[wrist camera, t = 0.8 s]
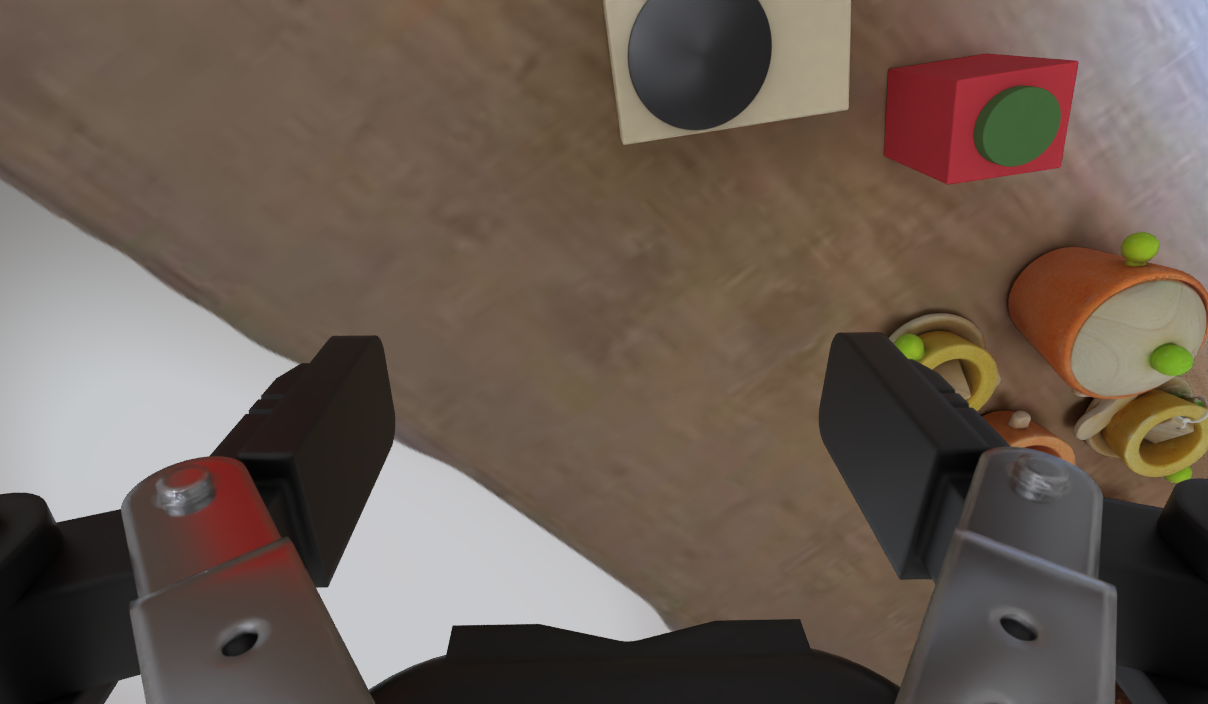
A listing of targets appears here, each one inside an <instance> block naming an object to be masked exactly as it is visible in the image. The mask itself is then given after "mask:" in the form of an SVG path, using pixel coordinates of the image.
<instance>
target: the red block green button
mask: <svg viewBox="0 0 1208 704" xmlns="http://www.w3.org/2000/svg"><path fill="white" fill-rule="evenodd" d="M1077 69H1078V61H1073V60H1060V59H1047V58H1035V57H1022V56H1009V55H996V54H981V55H975V56H968V57H962V58H956V59H949V60H943V61H937V62H931V63H924V64H918V65H912V66H906V67H899V68H893V69H889V70H888V87H887V107H886V128H885V149H884V156H885V157H888V158H890V159H892V160H894V161H897V162H899V163H901V164H903V165H906V166H908V167H910V168H912V169H914V170H917V171H919V172H921V173H923V174H926V175H928V176H930V177H932V178H934V179H937V180H939V181H941V182H943V183H946V184H955V183H962V182H968V181H975V180H981V179H988V178H995V177H1001V176H1008V175H1015V174H1021V173H1028V172H1034V171H1041V170H1048V169H1054V168H1059V167H1061V162H1062V157H1063V151H1064V145H1065V139H1066V133H1067V127H1068V121H1069V116H1070V110H1071V104H1072V98H1073V92H1074V86H1075V80H1076V75H1077Z"/></svg>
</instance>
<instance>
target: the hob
mask: <svg viewBox="0 0 1208 704" xmlns="http://www.w3.org/2000/svg"><path fill="white" fill-rule="evenodd" d="M646 1H647V0H603V8H604V16H605V23H606V31H607V38H608V46H609V54H610V61H611V69H612V77H613V84H614V92H615V100H616V107H617V115H618V122H619V130H620V136H621V139H622V143H623V145H628V144H634V143H641V142H647V141H653V140H660V139H666V138H672V137H679V136H685V135H691V134H698V133H704V132H711V131H717V130H723V129H730V128H736V127H742V126H749V125H755V124H761V123H768V122H774V121H781V120H787V119H793V118H800V117H806V116H812V115H819V114H825V113H831V112H838V111H844V110H848V108H849V70H850V27H851V0H759V2H760V3H761V5H762V7H763V9H764V11H765V13H766V16H767V18H768V21H769V25H770V30H771V37H772V55H771V62H770V66H769V70H768V74H767V76H766V79H765V81H764V84H763V85H762V87H761V89H760V91H759V93H758V94H757V96H756V97H755V98H754V100H753V101H752V102H751V103H750V105H749V106H748V107H747V108H746V109H745V110H744V111H743V112H741V113H740V114H739V115H738V116H736V117H735V118H733V119H732V120H730V121H728V122H726V123H725V124H722V125H720V126H717V127H714V128H710V129H706V130H685V129H680V128H676V127H673V126H671V125H668V124H666V123H664V122H663V121H661V120H660V119H658V118H657V117H655V116H654V115H653V114H652V113H651V112H650V111H649V110H648V109H647V108H646V107H645V106H644V104H643V103H642V102H641V100H640V99H639V97H638V95H637V94H636V91H635V89H634V87H633V85H632V81H631V78H630V74H629V69H628V58H627V54H628V43H629V37H630V33H631V30H632V27H633V24H634V22H635V19H636V17H637V15H638V13H639V12H640V10H641V8H642V6H643V5H644V4H645V3H646Z"/></svg>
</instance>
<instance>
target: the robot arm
mask: <svg viewBox="0 0 1208 704" xmlns="http://www.w3.org/2000/svg"><path fill="white" fill-rule="evenodd" d="M819 428H820V434H821V437H822V440H823V443H824V445H825V446H826V448H827V450H828V452H829V454H830V455H831V457H832V459H833V461H834V462H835V464H836V466H837V468H838V470H839V471H840V473H841V475H842V477H843V479H844V480H845V482H846V484H847V486H848V488H849V489H850V491H851V493H852V495H853V496H854V498H855V500H856V502H857V504H858V505H859V507H860V509H861V511H862V513H863V514H864V516H865V518H866V520H867V522H868V523H869V525H870V527H871V529H872V530H873V532H874V534H875V536H876V538H877V539H878V541H879V543H880V545H881V547H882V548H883V550H884V552H885V554H886V556H887V557H888V559H889V561H890V563H891V564H892V566H893V568H894V570H895V572H896V573H897V575H898V577H899V579H900V580H904V579H933V581H934V582H935V584H936V585H935V588H934V591H933V594H932V597H931V600H930V602H929V605H928V608H927V611H926V614H925V617H924V620H923V623H922V626H921V629H920V632H919V634H918V637H917V640H916V643H915V646H914V649H913V652H912V655H911V658H910V661H909V664H908V667H907V669H906V672H905V675H904V678H903V681H902V684H901V687H899V686H897V685H896V684H894V683H893V682H891V681H889V680H888V679H886V678H885V677H883V676H881V675H879V674H877V673H875V672H874V671H872V670H870V669H868V668H866V667H864V666H862V665H860V664H857V663H855V662H852V661H850V660H848V659H845V658H843V657H840V656H837V655H833V654H830V653H827V652H824V651H820V650H816V649H811V648H810V646H809V643H808V640H807V638H806V635H805V632H804V629H803V626H802V624H801V621H800V619H786V620H732V621H713V622H709V623H705V624H701V625H697V626H693V627H689V628H685V629H681V630H677V631H673V632H669V633H665V634H661V635H657V636H653V637H650V638H646V639H642V640H637V641H630V642H624V641H618V640H613V639H608V638H604V637H598V636H594V635H589V634H584V633H579V632H574V631H570V630H565V629H560V628H555V627H551V626H545V625H541V624H518V625H517V624H516V625H466V626H465V625H462V626H453V627H452V631H451V636H450V640H449V645H448V650H447V654H446V655H444V656H440V657H436V658H433V659H430V660H428V661H425V662H422V663H419V664H417V665H414V666H412V667H409V668H407V669H405V670H403V671H401V672H399V673H397V674H395V675H392V676H391V677H389V678H387V679H386V680H384V681H382V682H381V683H379V684H377V685H376V686H374V687H372V688H371V689H369V690H368V688H367V686H366V684H365V682H364V680H363V679H362V676H361V675H360V673H359V671H358V669H357V667H356V665H355V663H354V661H353V659H352V657H351V655H350V653H349V651H348V649H347V647H346V646H345V643H344V641H343V640H342V638H341V636H340V634H339V632H338V630H337V628H336V626H335V624H334V622H333V620H332V618H331V616H330V614H329V613H328V611H327V609H326V607H325V605H324V603H323V601H322V599H321V597H320V595H319V593H318V591H317V589H316V587H328V586H329V584H330V581H331V579H332V577H333V575H334V573H335V570H336V568H337V566H338V564H339V561H340V559H341V557H342V555H343V553H344V550H345V548H346V546H347V544H348V542H349V540H350V537H351V535H352V533H353V531H354V529H355V526H356V524H357V522H358V520H359V518H360V515H361V513H362V511H363V509H364V507H365V504H366V502H367V500H368V497H369V496H370V493H371V491H372V489H373V486H374V485H375V482H376V480H377V478H378V476H379V473H380V471H381V469H382V467H383V465H384V462H385V460H386V458H387V456H388V453H389V451H390V449H391V447H392V444H393V440H394V434H395V412H394V406H393V400H392V394H391V388H390V383H389V377H388V371H387V365H386V359H385V354H384V348H383V345H382V342H381V340H380V338H379V337H378V336H332V337H331V338H330V339H329V340H328V341H327V342H326V344H325V345H324V346H323V347H322V349H321V350H320V351H319V352H318V354H317V355H316V356H315V357H314V359H313V360H312V361H311V362H310V363H301V364H300V365H298V366H296V367H295V368H293V369H291V370H290V371H288V372H286V373H285V374H283V375H281V376H280V377H278V378H276V380H275V381H274V382H273V383H272V384H271V385H270V386H269V387H268V389H267V390H266V391H265V392H264V393H263V395H262V396H261V400H257V401H256V403H255V404H254V405H253V406H252V407H251V408H250V410H249V414H245V416H244V417H243V418H242V419H241V420H240V421H239V422H238V424H237V425H236V426H235V427H234V428H233V429H232V431H231V432H230V433H229V434H228V435H227V437H226V438H225V439H224V440H223V441H222V442H221V443H220V445H219V446H218V447H217V448H216V449H215V450H214V452H213V453H212V454H211V455H210V456H209V457H202V458H196V459H191V460H186V461H183V462H180V463H177V464H174V465H171V466H168V467H166V468H164V469H162V470H160V471H157V472H156V473H154V474H152V475H151V476H148V477H147V478H146V479H144V480H143V481H141V482H140V483H139V484H137V486H135V487H134V488H133V489H132V490H131V491H130V492H129V493H128V494H127V496H126V497H125V499H124V500H123V503H122V506H121V509H119V510H116V511H110V512H106V513H101V514H96V515H91V516H86V517H81V518H77V519H72V520H67V521H63V522H58V523H56V522H55V520H54V518H53V516H52V514H51V512H50V510H49V508H48V506H47V504H46V502H45V501H44V499H43V498H41V497H40V496H37V495H34V494H29V493H7V494H0V704H104V703H105V701H106V700H107V698H108V697H109V695H110V694H111V692H112V690H113V689H114V687H115V686H116V684H117V682H118V681H119V680H122V679H125V678H129V677H133V676H136V675H140V674H141V677H142V683H143V687H144V693H145V699H146V704H1115V680H1116V682H1117V683H1118V685H1119V686H1120V687H1121V689H1122V690H1123V691H1124V693H1125V694H1126V695H1127V697H1128V698H1129V700H1130V701H1131V702H1132V704H1208V479H1188V480H1184V481H1181V482H1179V483H1178V484H1177V485H1175V487H1174V489H1173V491H1172V493H1171V495H1170V497H1169V499H1168V501H1167V503H1166V505H1165V507H1164V508H1159V507H1154V506H1148V505H1143V504H1137V503H1132V502H1126V501H1121V500H1115V499H1110V498H1105V497H1103V495H1102V491H1101V489H1100V487H1099V486H1098V485H1097V483H1096V482H1095V481H1094V480H1093V479H1092V478H1091V477H1090V476H1089V475H1088V474H1086V473H1085V472H1084V471H1082V470H1081V469H1079V468H1078V467H1076V466H1075V465H1073V464H1071V463H1069V462H1067V461H1065V460H1063V459H1061V458H1058V457H1056V456H1054V455H1051V454H1048V453H1045V452H1041V451H1038V450H1034V449H1028V448H1023V447H1011V446H1010V445H1009V444H1008V443H1007V442H1006V440H1005V439H1004V438H1003V437H1002V436H1001V435H1000V434H999V433H998V432H997V431H996V430H995V429H994V428H993V427H992V426H991V425H990V424H989V423H988V422H987V421H986V420H985V419H984V418H983V417H982V416H981V415H980V414H979V413H978V412H977V411H976V410H975V409H974V408H969V403H968V402H967V401H966V400H965V399H964V398H963V397H962V396H961V395H960V394H959V393H955V389H954V388H953V387H952V386H951V385H950V384H949V383H948V382H947V381H946V380H945V379H944V378H943V377H942V376H941V375H940V374H939V373H937V372H936V371H934V370H932V369H930V368H928V367H927V366H925V365H923V364H921V363H919V362H917V361H916V360H914V359H908V358H907V357H906V356H905V355H904V354H903V353H902V352H901V351H900V350H899V349H898V348H897V347H896V346H895V345H894V343H893V342H892V341H891V340H890V339H889V338H888V337H887V336H886V335H885V334H884V333H881V332H856V333H837V334H836V335H835V337H834V338H833V341H832V344H831V348H830V353H829V358H828V364H827V369H826V375H825V380H824V386H823V391H822V397H821V402H820V408H819Z"/></svg>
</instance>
